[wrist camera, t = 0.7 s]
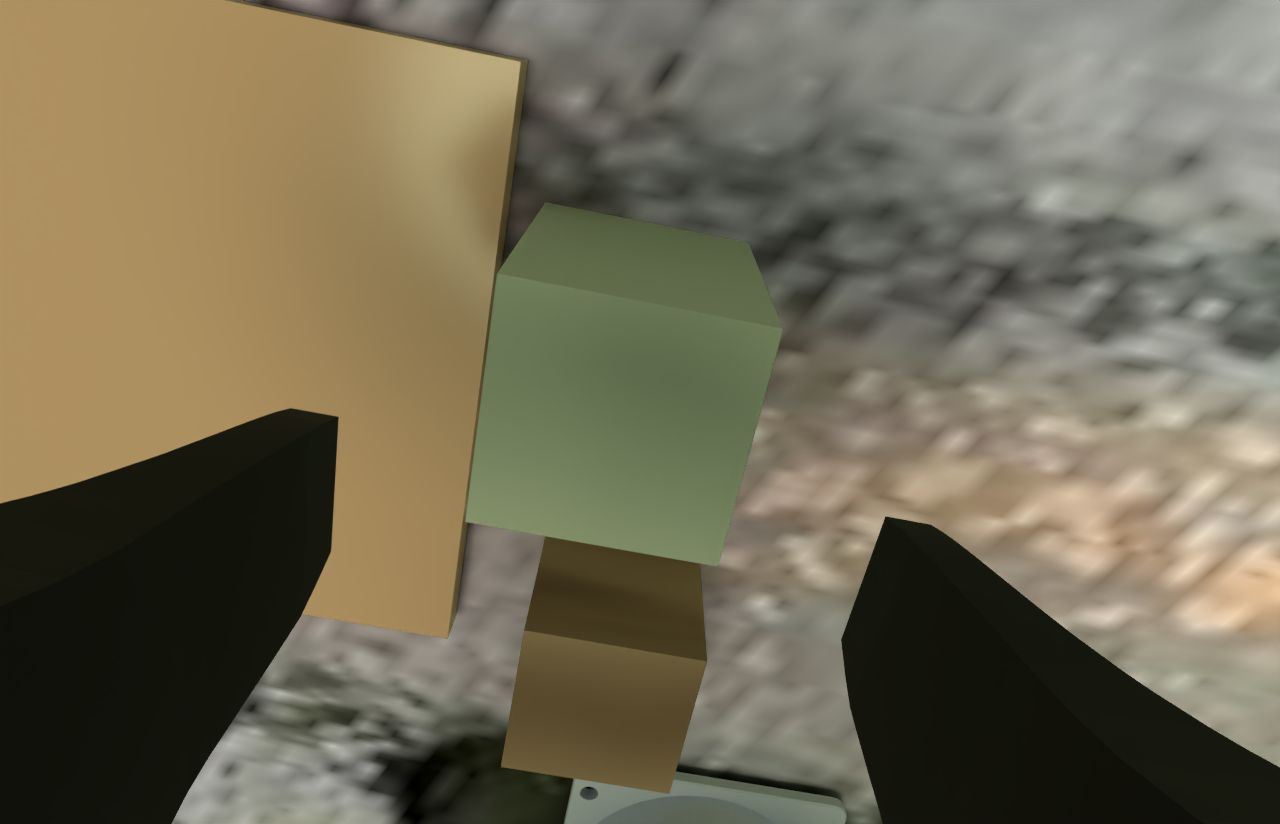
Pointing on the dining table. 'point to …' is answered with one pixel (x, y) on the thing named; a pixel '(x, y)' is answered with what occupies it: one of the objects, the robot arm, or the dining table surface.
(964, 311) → the dining table surface
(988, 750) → the robot arm
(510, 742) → the walnut block
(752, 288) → the sage block
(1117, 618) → the dining table surface
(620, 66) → the dining table surface
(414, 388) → the tan flat square slab
